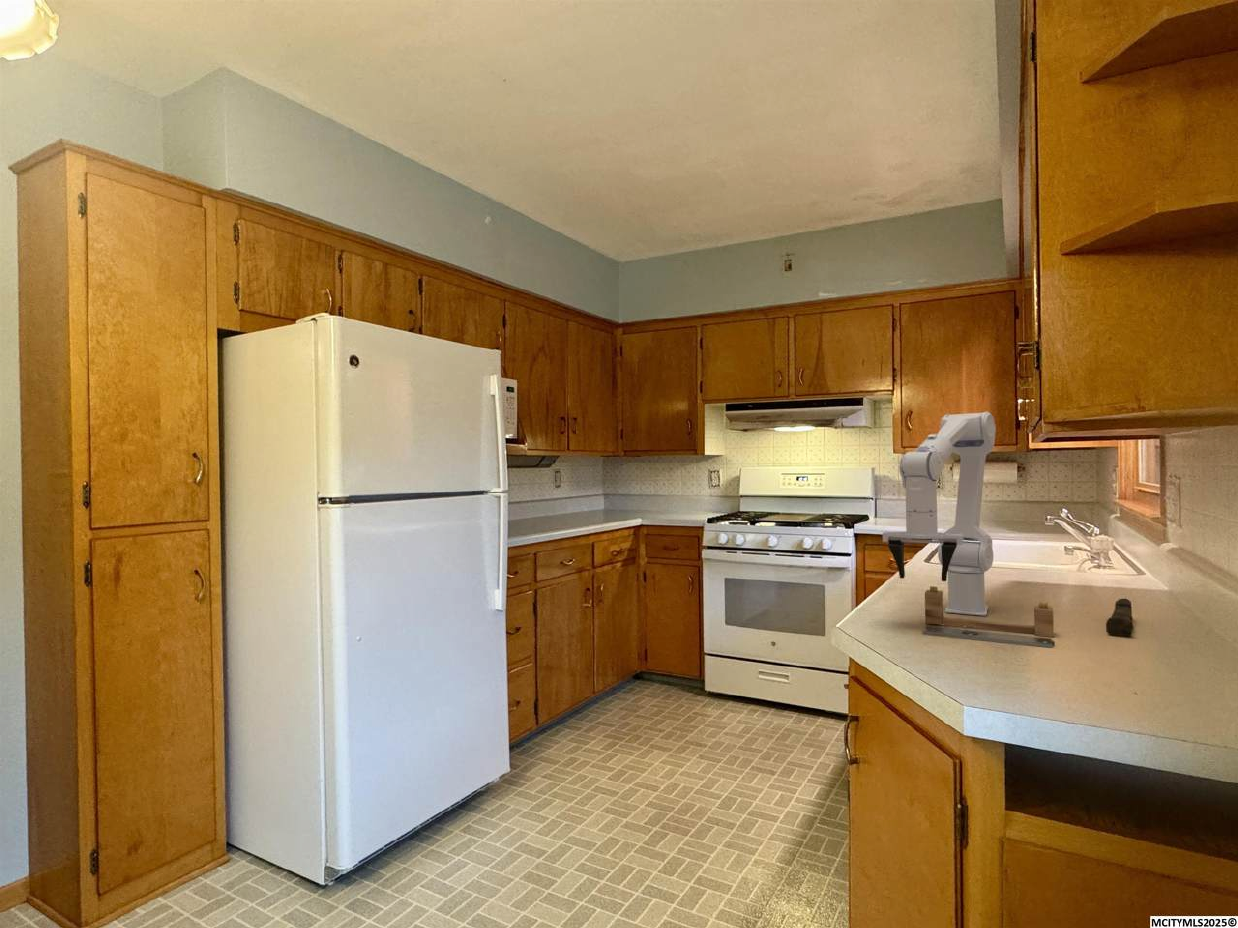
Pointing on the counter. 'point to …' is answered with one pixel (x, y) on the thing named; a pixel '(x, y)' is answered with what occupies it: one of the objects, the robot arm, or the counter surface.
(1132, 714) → the counter surface
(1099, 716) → the counter surface
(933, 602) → the sliding head
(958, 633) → the steel strip
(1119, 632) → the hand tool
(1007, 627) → the bar
